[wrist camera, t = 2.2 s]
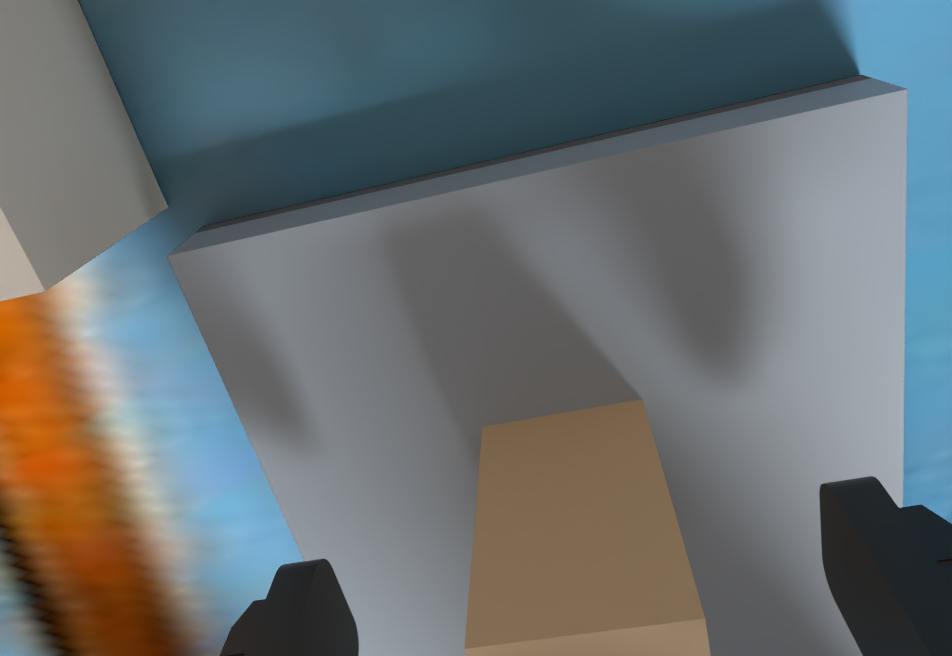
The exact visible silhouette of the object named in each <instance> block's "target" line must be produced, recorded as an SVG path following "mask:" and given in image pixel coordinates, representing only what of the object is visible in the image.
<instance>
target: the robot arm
mask: <svg viewBox="0 0 952 656" xmlns="http://www.w3.org/2000/svg"><path fill="white" fill-rule="evenodd" d="M819 499H820V522H821V546H822V561H823V567H824V572H825V576H826V579H827V582H828V586H829V588H830V591H831V594H832V596H833V598H834V600H835V602H836V604H837V606H838V608H839V610H840V612H841V614H842V616H843V618H844V620H845V622H846V624H847V626H848V628H849V630H850V632H851V634H852V636H853V638H854V640H855V642H856V643H857V645H858V647H859V649H860V651H861V653H862V655H863V656H952V524H951V523H949V522H948V521H946V520H945V519H943V518H941V517H940V516H938V515H937V514H935V513H934V512H932V511H931V510H929V509H927V508H926V507H924V506H923V505H916V506H909V507H902V508H899V507H898V506H897V505H896V503H895V502H894V501H893V499H892V498H891V496H890V495H889V494H888V492H887V491H886V489H885V488H884V487H883V485H882V484H881V483H880V481H879V480H878V479H877V478H876V477H874V476H868V477H862V478H855V479H849V480H842V481H836V482H829V483H823V484H821V486H820V491H819ZM358 655H359V639H358V631H357V626H356V622H355V620H354V617H353V615H352V613H351V610H350V608H349V605H348V603H347V601H346V598H345V596H344V594H343V591H342V589H341V587H340V584H339V582H338V580H337V577H336V575H335V573H334V570H333V568H332V566H331V564H330V563H329V561H328V560H326V559H317V560H311V561H304V562H298V563H291V564H285V565H282V566H280V567H279V569H278V570H277V572H276V574H275V577H274V579H273V582H272V585H271V587H270V590H269V592H268V595H267V597H266V599H264V600H257V601H253V602H252V604H251V605H250V606H249V607H248V608H247V610H246V611H245V612H244V613H243V615H242V616H241V617H240V618H239V619H238V621H237V622H236V623H235V624H234V625H233V627H232V628H231V630H230V633H229V635H228V637H227V640H226V642H225V644H224V647H223V649H222V652H221V654H220V656H358Z"/></svg>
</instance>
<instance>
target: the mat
mask: <svg viewBox="0 0 952 656" xmlns="http://www.w3.org/2000/svg"><path fill="white" fill-rule="evenodd" d="M866 79H870V77H867V76H864V75H859V76H854V77H850V78H846V79H841V80H837V81H833V82H828V83H824V84H820V85H815V86H811V87H807V88H802V89H798V90H794V91H789V92H785V93H781V94H776V95H772V96H767V97H763V98H759V99H754V100H750V101H746V102H741V103H737V104H733V105H728V106H724V107H720V108H715V109H711V110H707V111H702V112H698V113H694V114H689V115H685V116H681V117H676V118H672V119H668V120H663V121H659V122H655V123H650V124H646V125H642V126H637V127H633V128H629V129H624V130H620V131H616V132H611V133H607V134H603V135H598V136H594V137H589V138H585V139H581V140H576V141H572V142H568V143H563V144H559V145H555V146H550V147H546V148H542V149H537V150H533V151H529V152H524V153H520V154H516V155H511V156H507V157H503V158H498V159H494V160H490V161H485V162H481V163H477V164H472V165H468V166H464V167H459V168H455V169H451V170H446V171H442V172H438V173H433V174H429V175H425V176H420V177H416V178H411V179H407V180H403V181H398V182H394V183H390V184H385V185H381V186H377V187H372V188H368V189H364V190H359V191H355V192H351V193H346V194H342V195H338V196H333V197H329V198H325V199H320V200H316V201H312V202H307V203H303V204H299V205H294V206H290V207H286V208H281V209H277V210H273V211H268V212H264V213H260V214H255V215H251V216H247V217H242V218H238V219H233V220H229V221H225V222H220V223H216V224H212V225H207V226H203V227H202V228H200V229H199V230H198V231H197V232H196V233H198V232H203V231H207V230H211V229H216V228H220V227H224V226H229V225H233V224H238V223H242V222H246V221H251V220H255V219H259V218H264V217H268V216H272V215H277V214H281V213H286V212H290V211H294V210H299V209H303V208H307V207H312V206H316V205H320V204H325V203H329V202H334V201H338V200H342V199H347V198H351V197H355V196H360V195H364V194H368V193H373V192H377V191H382V190H386V189H390V188H395V187H399V186H403V185H408V184H412V183H416V182H421V181H425V180H430V179H434V178H438V177H443V176H447V175H451V174H456V173H460V172H464V171H469V170H473V169H477V168H482V167H486V166H491V165H495V164H499V163H504V162H508V161H512V160H517V159H521V158H525V157H530V156H534V155H539V154H543V153H547V152H552V151H556V150H560V149H565V148H569V147H573V146H578V145H582V144H587V143H591V142H595V141H600V140H604V139H608V138H613V137H617V136H621V135H626V134H630V133H635V132H639V131H643V130H648V129H652V128H656V127H661V126H665V125H669V124H674V123H678V122H683V121H687V120H691V119H696V118H700V117H704V116H709V115H713V114H717V113H722V112H726V111H731V110H735V109H739V108H744V107H748V106H752V105H757V104H761V103H765V102H770V101H774V100H778V99H783V98H787V97H792V96H796V95H800V94H805V93H809V92H813V91H818V90H822V89H827V88H831V87H835V86H840V85H844V84H848V83H853V82H857V81H861V80H866Z"/></svg>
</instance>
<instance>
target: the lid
mask: <svg viewBox="0 0 952 656" xmlns="http://www.w3.org/2000/svg"><path fill="white" fill-rule="evenodd" d="M906 174H907V89H905V88H902V87H899V86H896V85H893V84H889V83H886V82H883V81H880V80H877V79H873V78H870V79H866V80H861V81H857V82H853V83H848V84H844V85H840V86H835V87H831V88H827V89H822V90H818V91H813V92H809V93H805V94H800V95H796V96H792V97H787V98H783V99H778V100H774V101H770V102H765V103H761V104H757V105H752V106H748V107H744V108H739V109H735V110H731V111H726V112H722V113H717V114H713V115H709V116H704V117H700V118H696V119H691V120H687V121H683V122H678V123H674V124H669V125H665V126H661V127H656V128H652V129H648V130H643V131H639V132H635V133H630V134H626V135H621V136H617V137H613V138H608V139H604V140H600V141H595V142H591V143H587V144H582V145H578V146H573V147H569V148H565V149H560V150H556V151H552V152H547V153H543V154H539V155H534V156H530V157H525V158H521V159H517V160H512V161H508V162H504V163H499V164H495V165H491V166H486V167H482V168H477V169H473V170H469V171H464V172H460V173H456V174H451V175H447V176H443V177H438V178H434V179H430V180H425V181H421V182H416V183H412V184H408V185H403V186H399V187H395V188H390V189H386V190H382V191H377V192H373V193H368V194H364V195H360V196H355V197H351V198H347V199H342V200H338V201H334V202H329V203H325V204H320V205H316V206H312V207H307V208H303V209H299V210H294V211H290V212H286V213H281V214H277V215H272V216H268V217H264V218H259V219H255V220H251V221H246V222H242V223H238V224H233V225H229V226H224V227H220V228H216V229H211V230H207V231H203V232H198V233H194V234H193V235H192V236H191V237H189V238H188V239H187V240H186V241H185V242H183V243H182V244H181V245H180V246H178V247H177V248H176V249H175V250H173V251H172V252H171V253H170V254H169V255H167V258H168V260H169V263H170V265H171V267H172V269H173V272H174V274H175V276H176V278H177V280H178V283H179V285H180V287H181V289H182V291H183V294H184V296H185V298H186V300H187V303H188V305H189V307H190V309H191V311H192V314H193V316H194V318H195V320H196V323H197V325H198V327H199V329H200V331H201V334H202V336H203V338H204V340H205V342H206V345H207V347H208V349H209V351H210V354H211V356H212V358H213V360H214V362H215V365H216V367H217V369H218V371H219V374H220V376H221V378H222V380H223V382H224V385H225V387H226V389H227V391H228V394H229V396H230V398H231V400H232V402H233V405H234V407H235V409H236V411H237V413H238V416H239V418H240V420H241V422H242V425H243V427H244V429H245V431H246V433H247V436H248V438H249V440H250V442H251V445H252V447H253V449H254V451H255V453H256V456H257V458H258V460H259V462H260V464H261V467H262V469H263V471H264V473H265V476H266V478H267V480H268V482H269V484H270V487H271V489H272V491H273V493H274V496H275V498H276V500H277V502H278V504H279V507H280V509H281V511H282V513H283V515H284V518H285V520H286V522H287V524H288V527H289V529H290V531H291V533H292V535H293V538H294V540H295V542H296V544H297V547H298V549H299V551H300V553H301V555H302V558H303V560H304V561H311V560H317V559H326V560H328V561H329V563H330V564H331V566H332V568H333V570H334V573H335V575H336V577H337V580H338V582H339V584H340V587H341V589H342V591H343V594H344V596H345V598H346V601H347V603H348V605H349V608H350V610H351V613H352V615H353V617H354V620H355V622H356V626H357V631H358V639H359V655H358V656H863V655H862V653H861V651H860V649H859V647H858V645H857V643H856V642H855V640H854V638H853V636H852V634H851V632H850V630H849V628H848V626H847V624H846V622H845V620H844V618H843V616H842V614H841V612H840V610H839V608H838V606H837V604H836V602H835V600H834V598H833V596H832V594H831V591H830V588H829V586H828V582H827V579H826V576H825V572H824V567H823V561H822V546H821V522H820V499H819V491H820V486H821V484H823V483H829V482H836V481H842V480H849V479H855V478H862V477H868V476H874V477H876V478H877V479H878V480H879V481H880V483H881V484H882V485H883V487H884V488H885V489H886V491H887V492H888V494H889V495H890V496H891V498H892V499H893V501H894V502H895V503H896V505H897V506H898V507H899V508H902V507H903V450H904V358H905V266H906Z"/></svg>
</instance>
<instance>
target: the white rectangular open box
mask: <svg viewBox="0 0 952 656" xmlns="http://www.w3.org/2000/svg"><path fill="white" fill-rule="evenodd" d="M167 208H168V206H167V203H166V201H165V199H164V196H163V194H162V192H161V190H160V187H159V185H158V183H157V180H156V178H155V176H154V174H153V171H152V169H151V167H150V164H149V162H148V160H147V157H146V155H145V153H144V151H143V148H142V146H141V144H140V141H139V139H138V137H137V135H136V132H135V130H134V128H133V125H132V123H131V121H130V119H129V116H128V114H127V112H126V109H125V107H124V105H123V102H122V100H121V98H120V96H119V93H118V91H117V89H116V86H115V84H114V82H113V80H112V77H111V75H110V73H109V70H108V68H107V66H106V64H105V61H104V59H103V57H102V54H101V52H100V50H99V48H98V45H97V43H96V41H95V38H94V36H93V34H92V31H91V29H90V27H89V25H88V22H87V20H86V18H85V15H84V13H83V11H82V9H81V6H80V4H79V2H78V0H0V301H4V300H8V299H13V298H17V297H22V296H26V295H31V294H35V293H40V292H44V291H46V290H48V289H49V288H51V287H52V286H54V285H55V284H57V283H58V282H60V281H61V280H63V279H64V278H66V277H67V276H68V275H70V274H71V273H73V272H74V271H76V270H77V269H79V268H80V267H82V266H83V265H85V264H86V263H88V262H89V261H90V260H92V259H93V258H95V257H96V256H98V255H99V254H101V253H102V252H104V251H105V250H107V249H108V248H110V247H111V246H112V245H114V244H115V243H117V242H118V241H120V240H121V239H123V238H124V237H126V236H127V235H129V234H130V233H132V232H133V231H134V230H136V229H137V228H139V227H140V226H142V225H143V224H145V223H146V222H148V221H149V220H151V219H152V218H154V217H155V216H156V215H158V214H159V213H161V212H162V211H164V210H165V209H167Z"/></svg>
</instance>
